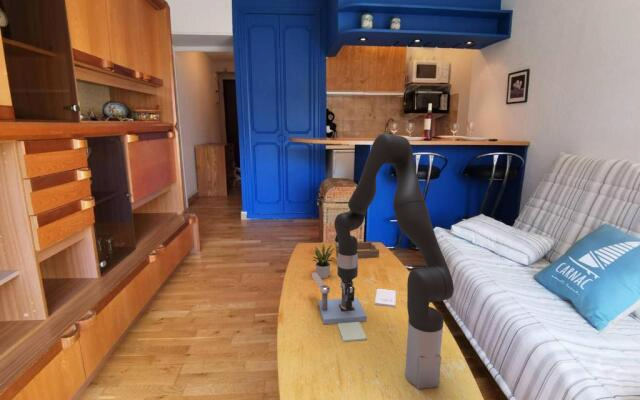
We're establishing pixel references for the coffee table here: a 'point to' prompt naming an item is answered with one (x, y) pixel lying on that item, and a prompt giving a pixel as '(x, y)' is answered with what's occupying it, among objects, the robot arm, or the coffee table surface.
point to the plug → (344, 303)
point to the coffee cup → (336, 247)
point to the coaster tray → (367, 253)
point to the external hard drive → (385, 297)
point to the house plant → (323, 261)
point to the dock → (333, 311)
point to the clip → (321, 283)
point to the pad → (351, 331)
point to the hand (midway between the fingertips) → (346, 304)
